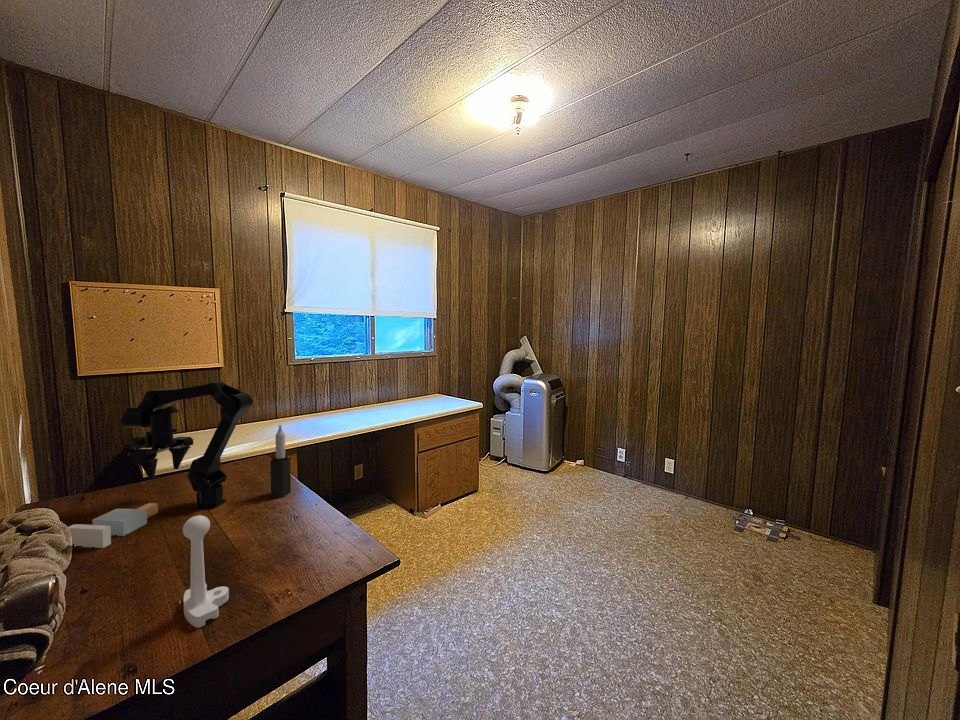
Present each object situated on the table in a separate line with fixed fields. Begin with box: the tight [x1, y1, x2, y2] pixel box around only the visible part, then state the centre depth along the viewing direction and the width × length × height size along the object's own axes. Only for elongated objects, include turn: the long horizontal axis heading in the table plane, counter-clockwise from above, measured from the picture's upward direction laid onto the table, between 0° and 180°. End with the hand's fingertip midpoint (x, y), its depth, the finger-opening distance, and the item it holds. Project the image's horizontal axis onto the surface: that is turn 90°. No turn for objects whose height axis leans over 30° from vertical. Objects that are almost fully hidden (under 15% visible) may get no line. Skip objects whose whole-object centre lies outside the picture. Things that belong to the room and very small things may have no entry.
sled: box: [91, 508, 148, 537], centre depth 109 cm, size 9×7×4 cm
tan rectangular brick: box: [137, 502, 159, 519], centre depth 116 cm, size 3×6×3 cm, turn 178°
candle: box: [270, 424, 291, 498], centre depth 134 cm, size 5×5×25 cm
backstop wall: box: [68, 523, 112, 549], centre depth 100 cm, size 10×2×5 cm, turn 88°
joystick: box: [182, 515, 230, 629], centre depth 79 cm, size 11×8×20 cm
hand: (164, 474), depth 124 cm, fingers open, 9 cm apart
